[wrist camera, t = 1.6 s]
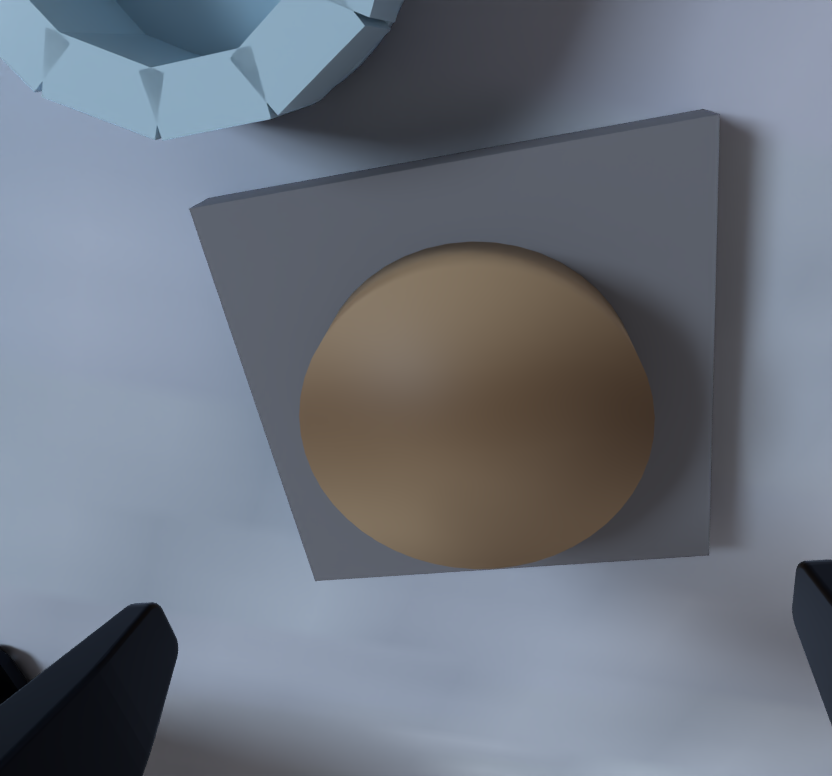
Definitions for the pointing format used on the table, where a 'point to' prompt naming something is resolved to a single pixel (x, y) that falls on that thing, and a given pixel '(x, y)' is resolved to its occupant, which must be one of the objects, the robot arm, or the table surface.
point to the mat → (507, 224)
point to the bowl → (189, 56)
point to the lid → (477, 407)
